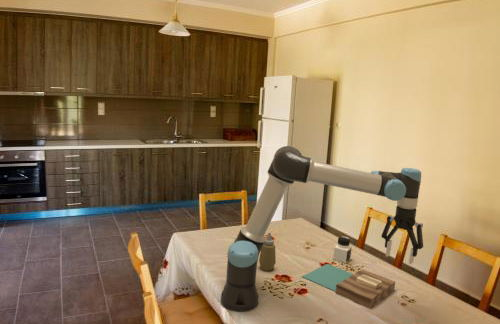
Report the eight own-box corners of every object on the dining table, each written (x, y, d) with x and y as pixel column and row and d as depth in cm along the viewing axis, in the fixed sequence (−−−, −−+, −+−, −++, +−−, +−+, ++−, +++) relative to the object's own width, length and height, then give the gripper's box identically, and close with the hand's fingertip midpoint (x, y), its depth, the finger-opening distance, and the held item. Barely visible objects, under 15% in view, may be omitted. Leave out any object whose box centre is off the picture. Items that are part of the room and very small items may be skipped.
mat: (335, 292, 168) (335, 291, 168) (301, 277, 180) (301, 276, 180) (359, 277, 184) (359, 276, 184) (327, 264, 196) (327, 263, 196)
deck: (370, 308, 157) (371, 299, 156) (335, 293, 167) (336, 284, 167) (394, 289, 174) (395, 281, 174) (361, 277, 185) (362, 269, 184)
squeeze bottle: (273, 273, 182) (276, 236, 179) (257, 270, 184) (259, 234, 181) (276, 266, 190) (279, 231, 187) (260, 263, 192) (262, 229, 189)
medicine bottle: (346, 263, 199) (348, 241, 197) (332, 259, 203) (335, 238, 201) (350, 259, 205) (353, 237, 203) (337, 255, 209) (339, 234, 207)
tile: (375, 290, 164) (375, 285, 164) (356, 282, 170) (356, 277, 170) (381, 285, 169) (382, 281, 168) (362, 278, 175) (362, 274, 174)
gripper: (438, 211, 151) (429, 265, 155) (384, 199, 166) (378, 248, 169) (431, 215, 146) (423, 271, 149) (376, 201, 160) (370, 253, 164)
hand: (399, 259), depth 159 cm, fingers open, 9 cm apart
